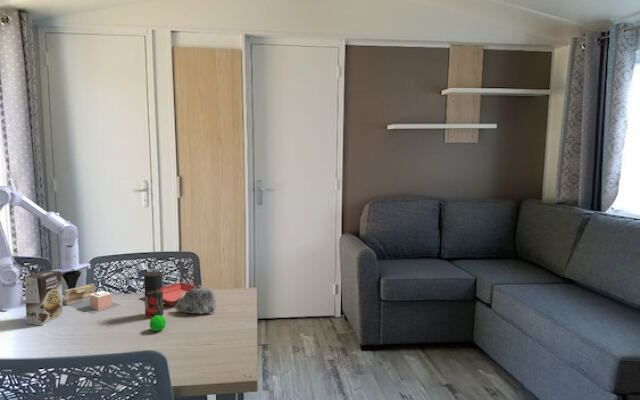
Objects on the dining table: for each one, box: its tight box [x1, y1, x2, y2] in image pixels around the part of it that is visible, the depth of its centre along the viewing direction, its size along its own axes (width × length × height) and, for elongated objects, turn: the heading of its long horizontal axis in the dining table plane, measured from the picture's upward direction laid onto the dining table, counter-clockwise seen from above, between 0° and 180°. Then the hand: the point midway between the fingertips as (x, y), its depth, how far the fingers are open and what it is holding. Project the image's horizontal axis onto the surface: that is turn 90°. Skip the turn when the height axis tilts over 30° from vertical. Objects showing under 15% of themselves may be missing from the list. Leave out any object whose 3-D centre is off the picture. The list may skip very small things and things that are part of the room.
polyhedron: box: [149, 315, 167, 332], centre depth 141 cm, size 5×5×5 cm
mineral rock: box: [174, 285, 217, 315], centre depth 158 cm, size 13×11×10 cm
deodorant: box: [143, 270, 164, 319], centre depth 154 cm, size 6×6×15 cm
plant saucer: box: [143, 282, 197, 307], centre depth 173 cm, size 18×18×3 cm
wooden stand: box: [62, 282, 96, 306], centre depth 166 cm, size 6×11×5 cm, turn 149°
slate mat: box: [62, 299, 121, 315], centre depth 165 cm, size 25×11×1 cm, turn 59°
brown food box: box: [24, 270, 64, 326], centre depth 148 cm, size 9×6×16 cm
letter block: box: [90, 290, 112, 310], centre depth 160 cm, size 5×5×5 cm
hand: (71, 290), depth 170 cm, fingers closed
